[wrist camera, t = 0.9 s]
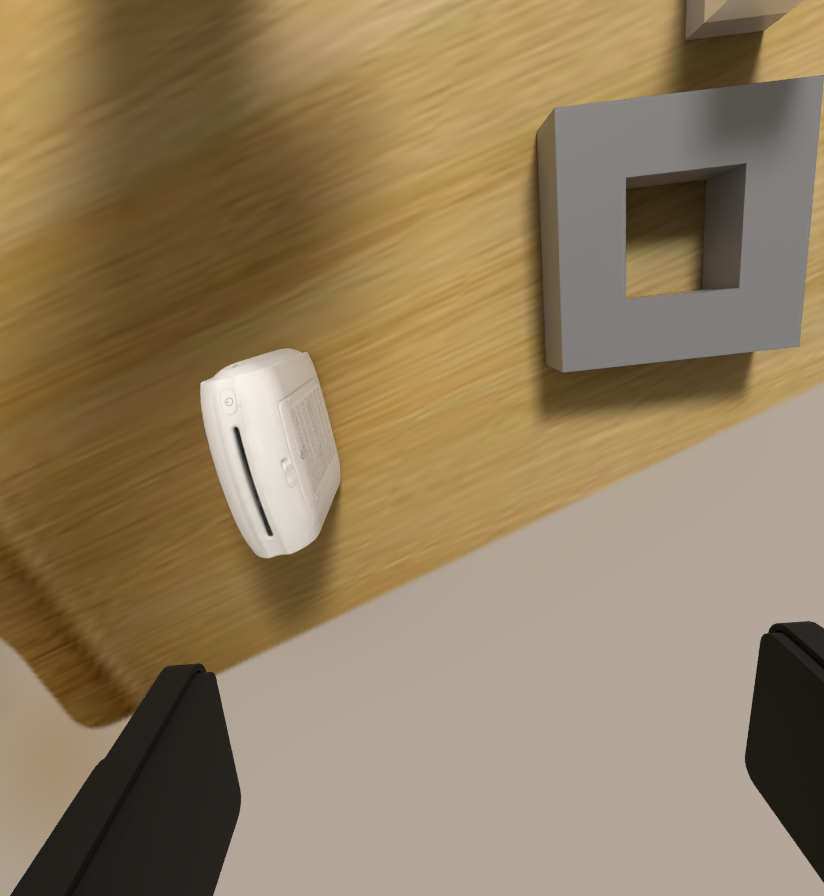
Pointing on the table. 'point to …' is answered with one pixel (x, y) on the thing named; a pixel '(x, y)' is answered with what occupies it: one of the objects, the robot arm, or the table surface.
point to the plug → (733, 16)
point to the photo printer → (272, 449)
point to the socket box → (725, 226)
